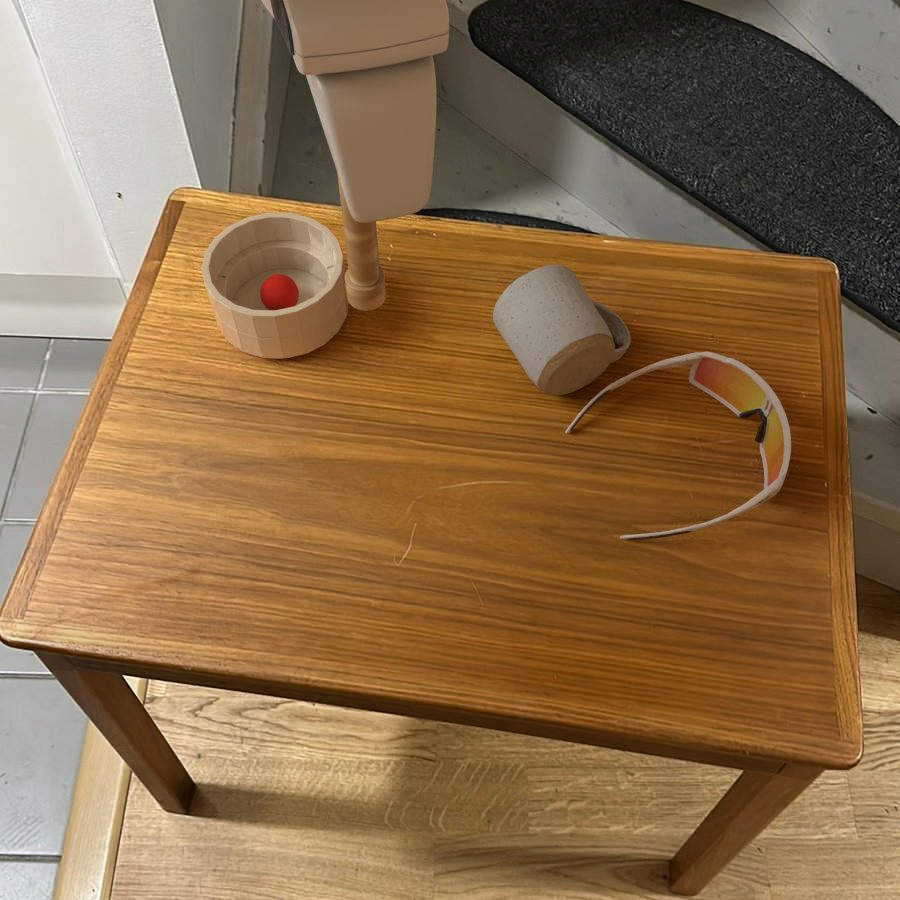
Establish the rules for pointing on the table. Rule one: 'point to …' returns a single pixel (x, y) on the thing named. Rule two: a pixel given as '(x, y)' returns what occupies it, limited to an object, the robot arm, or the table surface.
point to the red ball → (279, 292)
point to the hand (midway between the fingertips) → (352, 165)
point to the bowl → (269, 253)
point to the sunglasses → (744, 399)
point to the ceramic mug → (558, 329)
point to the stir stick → (362, 262)
